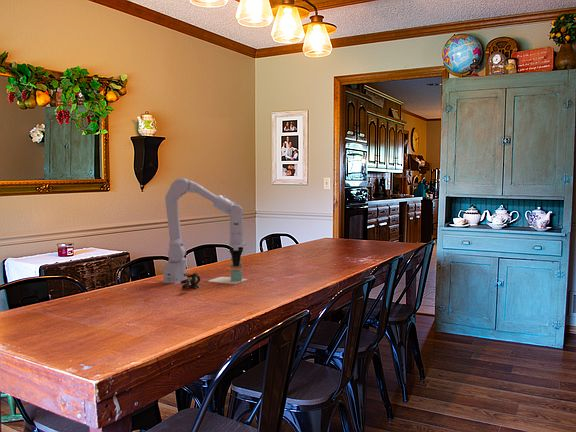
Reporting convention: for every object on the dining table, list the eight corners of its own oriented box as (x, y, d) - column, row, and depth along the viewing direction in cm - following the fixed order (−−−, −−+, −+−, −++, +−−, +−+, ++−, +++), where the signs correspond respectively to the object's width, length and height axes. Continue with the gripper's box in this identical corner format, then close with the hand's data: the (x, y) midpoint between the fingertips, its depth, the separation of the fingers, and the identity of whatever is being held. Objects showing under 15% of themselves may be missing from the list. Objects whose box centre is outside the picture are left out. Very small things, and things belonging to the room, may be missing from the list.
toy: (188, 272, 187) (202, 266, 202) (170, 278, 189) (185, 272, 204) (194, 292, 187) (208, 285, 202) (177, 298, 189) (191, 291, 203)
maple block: (241, 268, 211) (241, 258, 210) (230, 268, 210) (230, 259, 210) (241, 266, 215) (241, 257, 215) (231, 266, 215) (231, 257, 215)
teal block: (241, 281, 211) (241, 271, 211) (231, 281, 211) (231, 271, 210) (241, 278, 216) (241, 269, 215) (231, 279, 215) (231, 269, 215)
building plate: (234, 285, 205) (234, 284, 205) (206, 282, 211) (206, 280, 211) (247, 280, 215) (247, 279, 215) (221, 277, 221) (221, 276, 221)
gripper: (245, 235, 205) (245, 267, 206) (246, 231, 219) (246, 262, 220) (228, 235, 204) (228, 268, 205) (229, 231, 219) (230, 262, 220)
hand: (236, 265), depth 213 cm, fingers closed on maple block, 4 cm apart
